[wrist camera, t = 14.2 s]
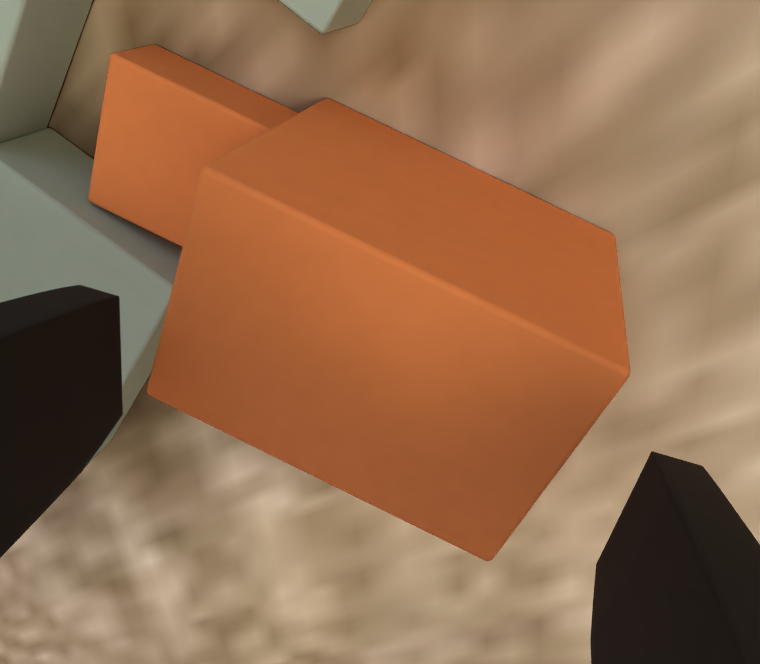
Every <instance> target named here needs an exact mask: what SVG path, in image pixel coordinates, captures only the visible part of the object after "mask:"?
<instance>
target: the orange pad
mask: <svg viewBox="0 0 760 664" xmlns="http://www.w3.org/2000/svg"><path fill="white" fill-rule="evenodd" d="M88 200H89V201H90V202H91V203H93V204H95V205H97V206H99V207H101V208H103V209H105V210H107V211H109V212H112V213H114V214H116V215H118V216H120V217H122V218H124V219H126V220H128V221H130V222H132V223H134V224H136V225H138V226H140V227H142V228H144V229H147V230H149V231H151V232H153V233H155V234H157V235H159V236H161V237H163V238H165V239H167V240H169V241H171V242H173V243H175V244H177V245H180V246H182V251H181V255H180V259H179V263H178V267H177V271H176V275H175V279H174V283H173V287H172V291H171V295H170V299H169V303H168V307H167V311H166V315H165V319H164V323H163V327H162V331H161V335H160V339H159V343H158V347H157V351H156V355H155V359H154V364H153V368H152V372H151V376H150V380H149V384H148V388H147V393H148V394H149V395H150V396H152V397H154V398H156V399H158V400H160V401H162V402H164V403H166V404H168V405H170V406H172V407H174V408H176V409H178V410H180V411H182V412H184V413H187V414H189V415H191V416H193V417H195V418H197V419H199V420H201V421H203V422H205V423H207V424H209V425H211V426H213V427H215V428H217V429H219V430H221V431H223V432H225V433H227V434H229V435H231V436H233V437H235V438H237V439H239V440H241V441H243V442H245V443H248V444H250V445H252V446H254V447H256V448H258V449H260V450H262V451H264V452H266V453H268V454H270V455H272V456H274V457H276V458H278V459H280V460H282V461H284V462H286V463H288V464H290V465H292V466H294V467H296V468H298V469H300V470H302V471H304V472H306V473H308V474H311V475H313V476H315V477H317V478H319V479H321V480H323V481H325V482H327V483H329V484H331V485H333V486H335V487H337V488H339V489H341V490H343V491H345V492H347V493H349V494H351V495H353V496H355V497H357V498H359V499H361V500H363V501H365V502H367V503H369V504H372V505H374V506H376V507H378V508H380V509H382V510H384V511H386V512H388V513H390V514H392V515H394V516H396V517H398V518H400V519H402V520H404V521H406V522H408V523H410V524H412V525H414V526H416V527H418V528H420V529H422V530H424V531H426V532H428V533H430V534H432V535H435V536H437V537H439V538H441V539H443V540H445V541H447V542H449V543H451V544H453V545H455V546H457V547H459V548H461V549H463V550H465V551H467V552H469V553H471V554H473V555H475V556H477V557H479V558H481V559H483V560H485V561H491V560H492V559H493V558H494V557H495V555H496V554H497V553H498V551H499V550H500V549H501V547H502V546H503V544H504V543H505V542H506V540H507V539H508V538H509V536H510V535H511V534H512V532H513V531H514V530H515V528H516V527H517V526H518V524H519V523H520V522H521V520H522V519H523V518H524V516H525V515H526V514H527V512H528V511H529V510H530V508H531V507H532V506H533V504H534V503H535V502H536V500H537V499H538V498H539V496H540V495H541V494H542V492H543V491H544V490H545V488H546V487H547V486H548V484H549V483H550V482H551V480H552V479H553V478H554V476H555V475H556V474H557V472H558V471H559V470H560V468H561V467H562V466H563V464H564V463H565V462H566V460H567V459H568V458H569V456H570V455H571V454H572V452H573V451H574V450H575V448H576V447H577V446H578V444H579V443H580V441H581V440H582V439H583V437H584V436H585V435H586V433H587V432H588V431H589V429H590V428H591V427H592V425H593V424H594V423H595V421H596V420H597V419H598V417H599V416H600V415H601V413H602V412H603V411H604V409H605V408H606V407H607V405H608V404H609V403H610V401H611V400H612V399H613V397H614V396H615V395H616V393H617V392H618V391H619V389H620V388H621V387H622V385H623V384H624V383H625V381H626V380H627V379H628V377H629V375H630V364H629V356H628V347H627V338H626V330H625V321H624V312H623V303H622V295H621V286H620V277H619V268H618V260H617V251H616V242H615V236H614V235H613V234H612V233H610V232H608V231H605V230H603V229H601V228H599V227H597V226H595V225H593V224H591V223H589V222H587V221H584V220H582V219H580V218H578V217H576V216H574V215H572V214H570V213H568V212H566V211H563V210H561V209H559V208H557V207H555V206H553V205H551V204H549V203H547V202H545V201H543V200H540V199H538V198H536V197H534V196H532V195H530V194H528V193H526V192H524V191H522V190H519V189H517V188H515V187H513V186H511V185H509V184H507V183H505V182H503V181H501V180H498V179H496V178H494V177H492V176H490V175H488V174H486V173H484V172H482V171H480V170H477V169H475V168H473V167H471V166H469V165H467V164H465V163H463V162H461V161H459V160H457V159H454V158H452V157H450V156H448V155H446V154H444V153H442V152H440V151H438V150H436V149H433V148H431V147H429V146H427V145H425V144H423V143H421V142H419V141H417V140H415V139H412V138H410V137H408V136H406V135H404V134H402V133H400V132H398V131H396V130H394V129H391V128H389V127H387V126H385V125H383V124H381V123H379V122H377V121H375V120H373V119H370V118H368V117H366V116H364V115H362V114H360V113H358V112H356V111H354V110H352V109H350V108H347V107H345V106H343V105H341V104H339V103H337V102H335V101H333V100H331V99H327V98H325V99H323V100H321V101H319V102H318V103H316V104H314V105H312V106H311V107H309V108H307V109H305V110H304V111H302V112H300V113H297V112H295V111H293V110H291V109H289V108H287V107H285V106H283V105H281V104H278V103H276V102H274V101H272V100H270V99H268V98H266V97H264V96H262V95H260V94H258V93H255V92H253V91H251V90H249V89H247V88H245V87H243V86H241V85H239V84H237V83H235V82H232V81H230V80H228V79H226V78H224V77H222V76H220V75H218V74H216V73H214V72H212V71H209V70H207V69H205V68H203V67H201V66H199V65H197V64H195V63H193V62H191V61H188V60H186V59H184V58H182V57H180V56H178V55H176V54H174V53H172V52H170V51H168V50H165V49H163V48H161V47H159V46H157V45H149V46H144V47H140V48H135V49H130V50H125V51H121V52H116V53H112V54H111V56H110V59H109V66H108V72H107V79H106V85H105V92H104V98H103V105H102V111H101V118H100V124H99V130H98V137H97V143H96V150H95V156H94V163H93V169H92V176H91V182H90V189H89V195H88Z"/></svg>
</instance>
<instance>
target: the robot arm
mask: <svg viewBox="0 0 760 664" xmlns="http://www.w3.org/2000/svg"><path fill="white" fill-rule="evenodd" d="M122 415H123V402H122V368H121V334H120V300H119V296H117V295H113V294H110V293H106V292H103V291H100V290H96V289H93V288H89V287H86V286H82V285H75V286H69V287H63V288H58V289H53V290H48V291H44V292H40V293H35V294H31V295H27V296H23V297H19V298H16V299H12V300H8V301H4V302H0V557H1V556H2V555H3V554H4V553H5V552H6V551H7V550H8V549H9V548H10V547H11V546H12V545H13V544H14V543H15V542H16V541H17V540H18V539H19V538H20V537H21V536H22V535H23V534H24V532H25V531H26V530H27V529H28V528H29V527H30V526H31V525H32V524H33V523H34V522H35V521H36V520H37V519H38V518H39V517H40V516H41V515H42V514H43V513H44V512H45V511H46V509H47V508H48V507H49V506H50V505H51V504H52V503H53V502H54V501H55V500H56V499H57V498H58V497H59V496H60V495H61V494H62V492H63V491H64V490H65V489H66V488H67V487H68V486H69V485H70V484H71V483H72V482H73V481H74V480H75V478H76V477H77V476H78V475H79V474H80V473H81V472H82V471H83V469H84V468H85V467H86V465H87V464H88V463H89V461H90V460H91V459H92V457H93V456H94V455H95V453H96V452H97V451H98V449H99V448H100V447H101V445H102V444H103V442H104V441H105V440H106V438H107V437H108V435H109V434H110V432H111V431H112V429H113V428H114V427H115V425H116V424H117V422H118V421H119V419H120V418H121V416H122ZM591 663H592V664H760V544H759V543H758V542H757V540H756V539H755V537H754V536H753V535H752V533H751V532H750V530H749V529H748V528H747V526H746V525H745V523H744V522H743V521H742V519H741V518H740V516H739V515H738V513H737V512H736V511H735V509H734V508H733V506H732V505H731V504H730V502H729V501H728V499H727V498H726V497H725V495H724V494H723V492H722V491H721V490H720V488H719V487H718V486H717V484H716V483H715V482H714V480H713V479H712V477H711V476H710V475H709V474H708V472H707V471H706V470H705V469H704V467H703V466H700V465H697V464H694V463H690V462H687V461H683V460H680V459H676V458H673V457H670V456H666V455H663V454H659V453H656V452H651V454H650V456H649V458H648V460H647V462H646V464H645V466H644V468H643V470H642V472H641V474H640V476H639V478H638V480H637V482H636V484H635V486H634V489H633V491H632V493H631V495H630V497H629V499H628V501H627V503H626V505H625V507H624V509H623V511H622V513H621V515H620V517H619V519H618V521H617V523H616V525H615V527H614V529H613V531H612V533H611V535H610V538H609V540H608V542H607V544H606V546H605V548H604V550H603V552H602V554H601V556H600V558H599V560H598V562H597V564H596V575H595V587H594V598H593V611H592V626H591Z"/></svg>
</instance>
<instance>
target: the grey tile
mask: <svg viewBox="0 0 760 664" xmlns="http://www.w3.org/2000/svg"><path fill="white" fill-rule="evenodd" d="M92 1H93V0H0V302H4V301H8V300H12V299H16V298H19V297H23V296H27V295H31V294H35V293H40V292H44V291H48V290H53V289H58V288H63V287H69V286H75V285H82V286H86V287H89V288H93V289H96V290H100V291H103V292H106V293H110V294H113V295H117V296H119V300H120V334H121V368H122V402H123V415H122V416H121V418H120V419H119V421H118V422H117V424H116V425H115V427H114V428H113V429H112V431H111V432H110V434H109V435H108V437H107V438H106V440H105V441H104V442H103V444H102V445H101V447H100V448H99V449H98V451H97V452H96V453H95V455H94V456H93V457H92V459H91V460H90V461H89V463H90V462H91V461H92V460H93V459H94V458H95V457H96V455H97V454H98V453H99V452H100V451H101V450H102V449H103V448H104V447H105V446H106V445H107V444H108V443H109V442H110V441H111V439H112V437H113V436H114V434H115V432H116V431H117V429H118V427H119V426H120V424H121V422H122V420H123V419H124V417H125V415H126V414H127V412H128V410H129V409H130V407H131V405H132V404H133V402H134V400H135V399H136V397H137V395H138V394H139V392H140V390H141V389H142V387H143V385H144V383H145V382H146V380H147V378H148V377H149V375H150V373H151V372H152V368H153V364H154V359H155V355H156V351H157V347H158V343H159V339H160V335H161V331H162V327H163V323H164V319H165V315H166V311H167V307H168V303H169V299H170V295H171V291H172V287H173V283H174V279H175V275H176V271H177V267H178V263H179V259H180V255H181V251H182V246H180V245H177V244H175V243H173V242H171V241H169V240H167V239H165V238H163V237H161V236H159V235H157V234H155V233H153V232H151V231H149V230H147V229H144V228H142V227H140V226H138V225H136V224H134V223H132V222H130V221H128V220H126V219H124V218H122V217H120V216H118V215H116V214H114V213H112V212H109V211H107V210H105V209H103V208H101V207H99V206H97V205H95V204H93V203H91V202H90V201H89V200H88V195H89V189H90V182H91V176H92V169H93V163H94V159H92V158H91V157H90V156H88V155H87V154H86V153H84V152H83V151H82V150H80V149H79V148H77V147H76V146H75V145H73V144H72V143H71V142H69V141H68V140H67V139H65V138H64V137H62V136H61V135H60V134H58V133H57V132H56V131H54V130H53V129H51V128H47V126H48V123H49V120H50V117H51V114H52V112H53V109H54V106H55V103H56V101H57V98H58V95H59V92H60V90H61V87H62V84H63V81H64V79H65V76H66V73H67V70H68V68H69V65H70V62H71V59H72V56H73V54H74V51H75V48H76V45H77V43H78V40H79V37H80V34H81V32H82V29H83V26H84V23H85V21H86V18H87V15H88V12H89V9H90V7H91V4H92ZM278 1H280V2H281V3H282V4H283V5H285V6H286V7H287V8H289V9H290V10H291V11H292V12H294V13H295V14H296V15H298V16H299V17H300V18H301V19H303V20H304V21H305V22H306V23H308V24H309V25H310V26H312V27H313V28H314V29H315V30H317V31H318V32H319V33H322V34H325V33H328V32H332V31H335V30H338V29H341V28H345V27H348V26H351V25H354V24H357V23H359V22H360V20H361V19H362V17H363V15H364V14H365V12H366V10H367V9H368V7H369V5H370V4H371V2H372V0H278ZM89 463H88V464H89ZM88 464H87V465H88ZM87 465H86V466H87Z"/></svg>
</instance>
